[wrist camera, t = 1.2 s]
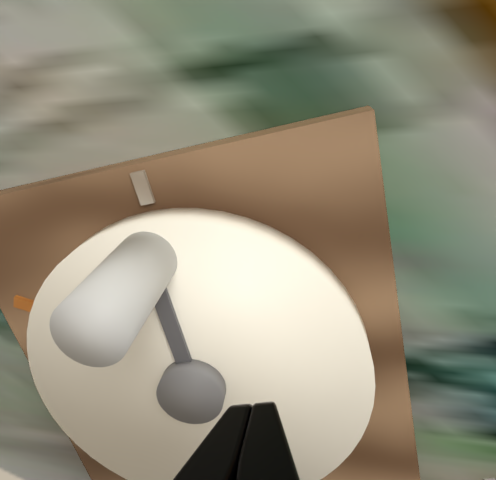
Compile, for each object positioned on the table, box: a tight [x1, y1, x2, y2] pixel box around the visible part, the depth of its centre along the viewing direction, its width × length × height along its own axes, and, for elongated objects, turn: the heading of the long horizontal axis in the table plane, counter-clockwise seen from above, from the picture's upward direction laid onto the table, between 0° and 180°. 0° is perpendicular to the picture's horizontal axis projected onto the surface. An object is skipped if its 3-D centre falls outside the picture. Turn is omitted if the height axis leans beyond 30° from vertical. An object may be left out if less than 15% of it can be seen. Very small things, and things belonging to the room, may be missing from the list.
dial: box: [27, 208, 375, 480], centre depth 17 cm, size 16×16×7 cm
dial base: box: [0, 106, 420, 480], centre depth 21 cm, size 20×19×2 cm
